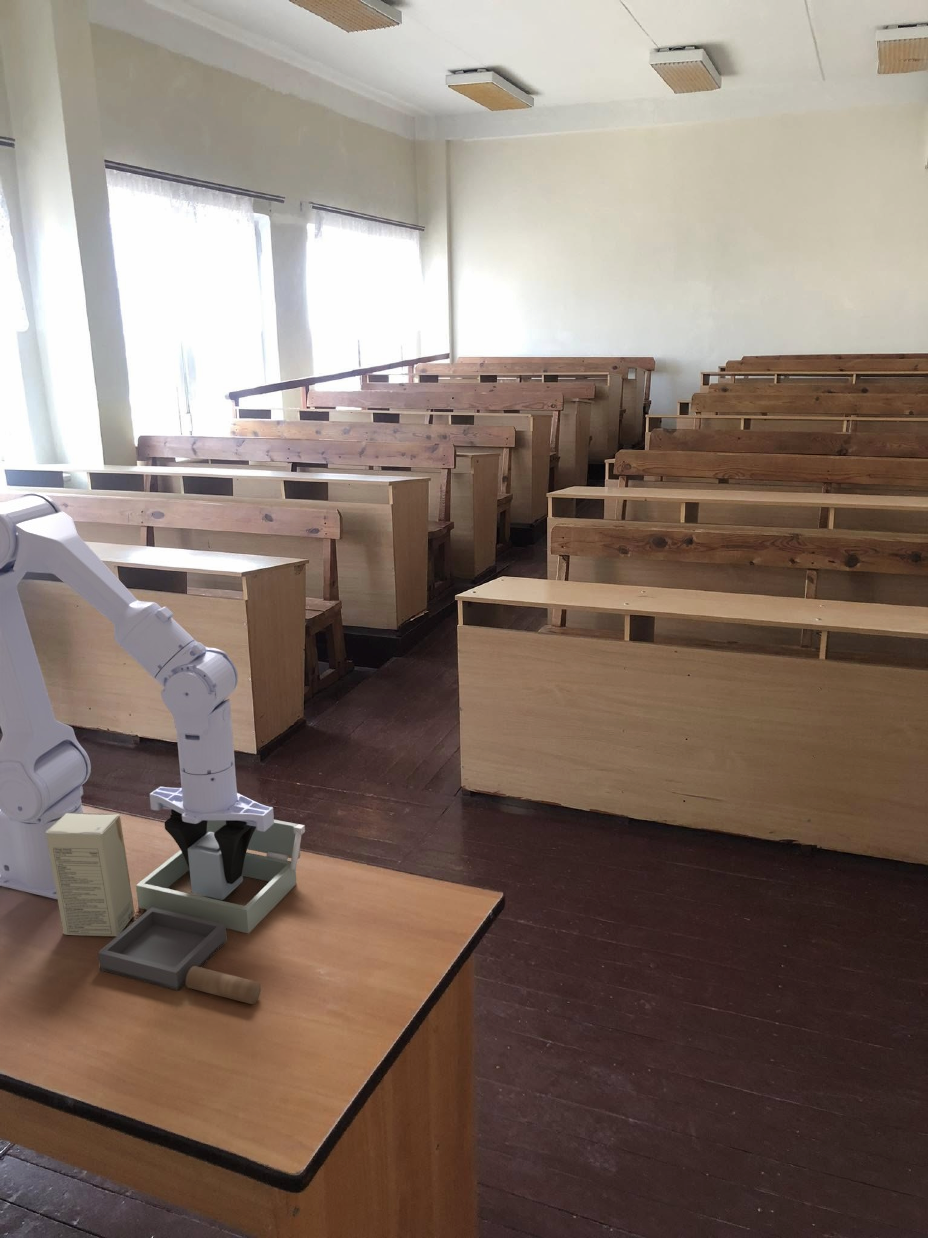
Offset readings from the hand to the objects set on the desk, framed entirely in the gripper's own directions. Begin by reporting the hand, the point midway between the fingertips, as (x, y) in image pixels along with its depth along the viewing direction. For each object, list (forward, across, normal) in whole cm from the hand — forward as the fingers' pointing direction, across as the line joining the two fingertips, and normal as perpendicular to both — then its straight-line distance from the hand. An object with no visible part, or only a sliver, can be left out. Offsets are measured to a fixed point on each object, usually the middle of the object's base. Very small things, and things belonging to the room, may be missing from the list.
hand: (216, 875), depth 104 cm
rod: (+2, +10, -14) cm, 17 cm away
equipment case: (+3, 0, 0) cm, 3 cm away
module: (+2, 0, 0) cm, 2 cm away
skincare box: (+3, -9, -9) cm, 13 cm away
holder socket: (+3, +1, -11) cm, 11 cm away
